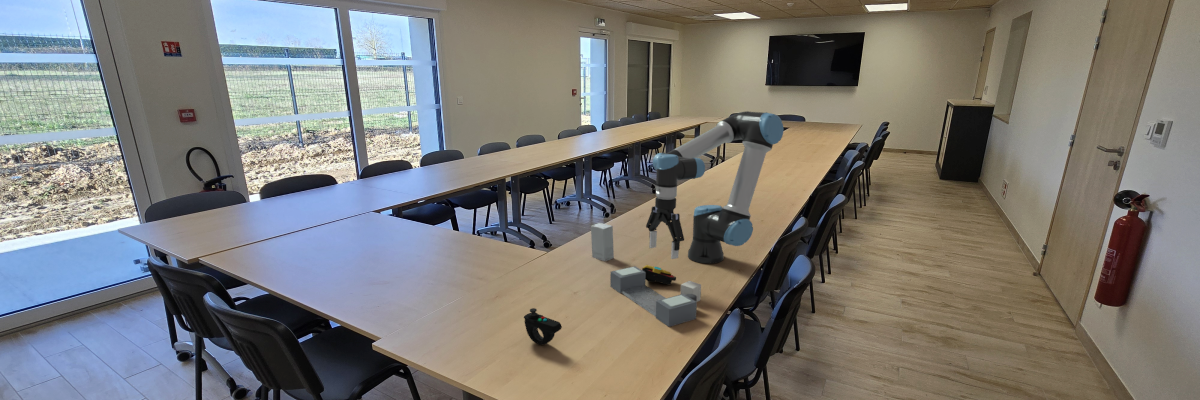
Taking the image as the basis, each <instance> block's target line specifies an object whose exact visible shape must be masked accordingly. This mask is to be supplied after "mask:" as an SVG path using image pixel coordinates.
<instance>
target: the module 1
mask: <svg viewBox="0 0 1200 400" xmlns="http://www.w3.org/2000/svg"><path fill="white" fill-rule="evenodd" d="M645 278H646V272H644V271H643V270H642V269H641V268H639V267H638V266H635V265H634V266H629V267H625V268H620V269H616V270H612V271H610V278H609V279H610V284H609V285H610V288H612V289H613V290H615V291H616V292H617V293H619V294H622V293H621V290H624V289H628V288H632V287H636V286H640V285H646V279H645Z"/></svg>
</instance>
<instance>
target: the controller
mask: <svg viewBox="0 0 1200 400" xmlns="http://www.w3.org/2000/svg"><path fill="white" fill-rule="evenodd" d="M537 311H538V310H537V308H535V307H534V308H533V307H532V308H530V309H529V313H527V314H525V315H524V316H523V319H524V321H523V322H524V326H525V331H526V333H527V335H528V337H529V339H530V340H531V341H532V342H533V343H535V344H537V345H541V346H544V345H547V344H548V343H550V342H551V341H553V339H554V338H555V334H556V333H557V332H559V331H560V330H562V328H563V327H562V324H561V322H559V321H557V320H554V319H552V318H548V317H546V316H544V315H543V314H540V313H537ZM539 330H540V331H541V333H542V335H541V334H540V332H539Z"/></svg>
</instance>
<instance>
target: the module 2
mask: <svg viewBox="0 0 1200 400" xmlns="http://www.w3.org/2000/svg"><path fill="white" fill-rule="evenodd" d="M680 294H681V293H680ZM680 294H678V295H674V296H669V297H667V298H666V297H665V298H666V299H662V300H658V301H656V317H655V319H656V320H658V321H659V322H660V323H662V324H664V325H665V326H666V327H668V328H669V327H674V326H677V325H680V324H683V323H686V322H687V323H688V322H690V321H693V320H696V319H697V308H698V307H697V306H698V305H697V304H698V302H696V301H694V300H693V299H691V298H689V297H687V296H686V295H684V294H681V295H680Z"/></svg>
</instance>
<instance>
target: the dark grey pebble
mask: <svg viewBox="0 0 1200 400" xmlns="http://www.w3.org/2000/svg"><path fill="white" fill-rule="evenodd" d="M686 296H687V297H689V298H691V299H693V300H694V301H696V302H697V296H696V295H694V294H686ZM697 303H698V302H697Z"/></svg>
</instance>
